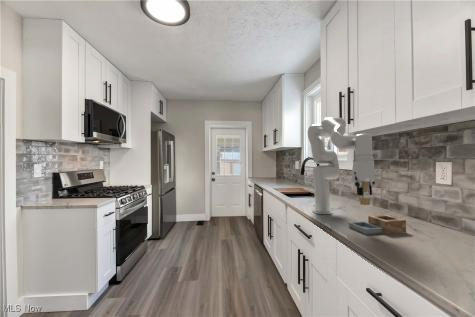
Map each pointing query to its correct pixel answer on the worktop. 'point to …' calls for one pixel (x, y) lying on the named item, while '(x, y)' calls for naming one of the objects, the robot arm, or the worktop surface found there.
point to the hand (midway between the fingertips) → (364, 194)
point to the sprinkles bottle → (365, 193)
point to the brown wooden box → (388, 223)
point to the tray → (366, 228)
